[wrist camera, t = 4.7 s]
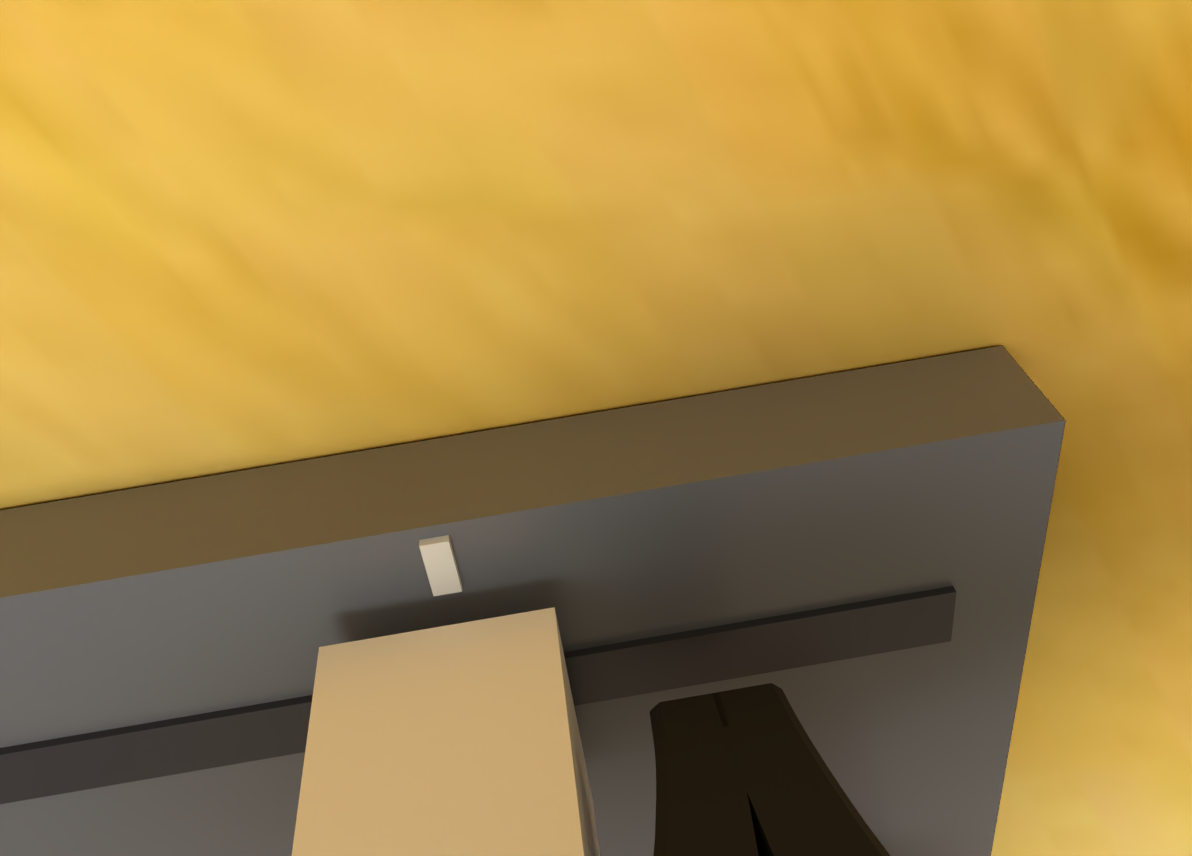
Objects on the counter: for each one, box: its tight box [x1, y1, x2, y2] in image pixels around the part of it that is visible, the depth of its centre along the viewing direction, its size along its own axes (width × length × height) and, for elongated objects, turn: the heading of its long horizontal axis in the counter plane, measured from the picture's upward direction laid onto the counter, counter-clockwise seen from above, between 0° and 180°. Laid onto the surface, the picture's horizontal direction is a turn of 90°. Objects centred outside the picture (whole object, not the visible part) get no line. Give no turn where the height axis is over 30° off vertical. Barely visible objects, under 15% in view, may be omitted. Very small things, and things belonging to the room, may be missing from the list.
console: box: [0, 346, 1066, 856], centre depth 15 cm, size 15×12×2 cm
